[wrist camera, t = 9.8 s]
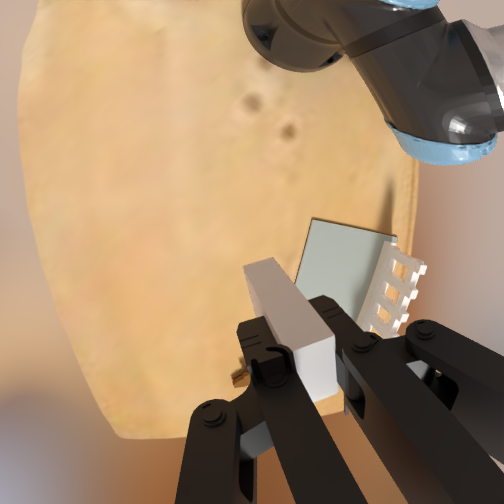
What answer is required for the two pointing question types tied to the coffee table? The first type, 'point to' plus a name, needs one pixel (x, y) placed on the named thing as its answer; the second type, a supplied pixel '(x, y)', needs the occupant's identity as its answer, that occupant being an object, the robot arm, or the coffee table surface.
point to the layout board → (342, 265)
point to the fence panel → (402, 286)
